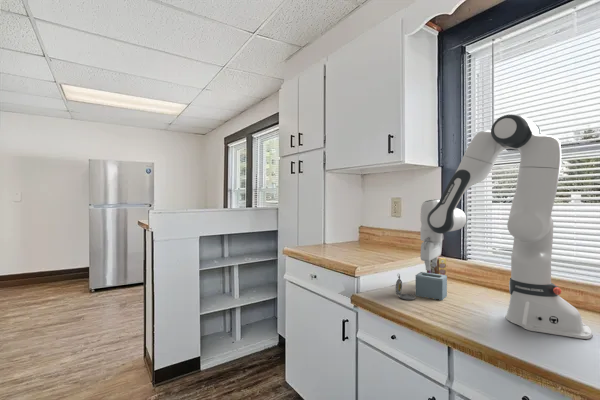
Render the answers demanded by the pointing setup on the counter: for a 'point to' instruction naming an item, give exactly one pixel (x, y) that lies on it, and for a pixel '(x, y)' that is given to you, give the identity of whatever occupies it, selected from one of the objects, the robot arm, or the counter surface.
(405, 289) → the counter surface
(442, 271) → the candy box
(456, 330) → the counter surface
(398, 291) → the pocket watch
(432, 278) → the blue grey rectangular container
